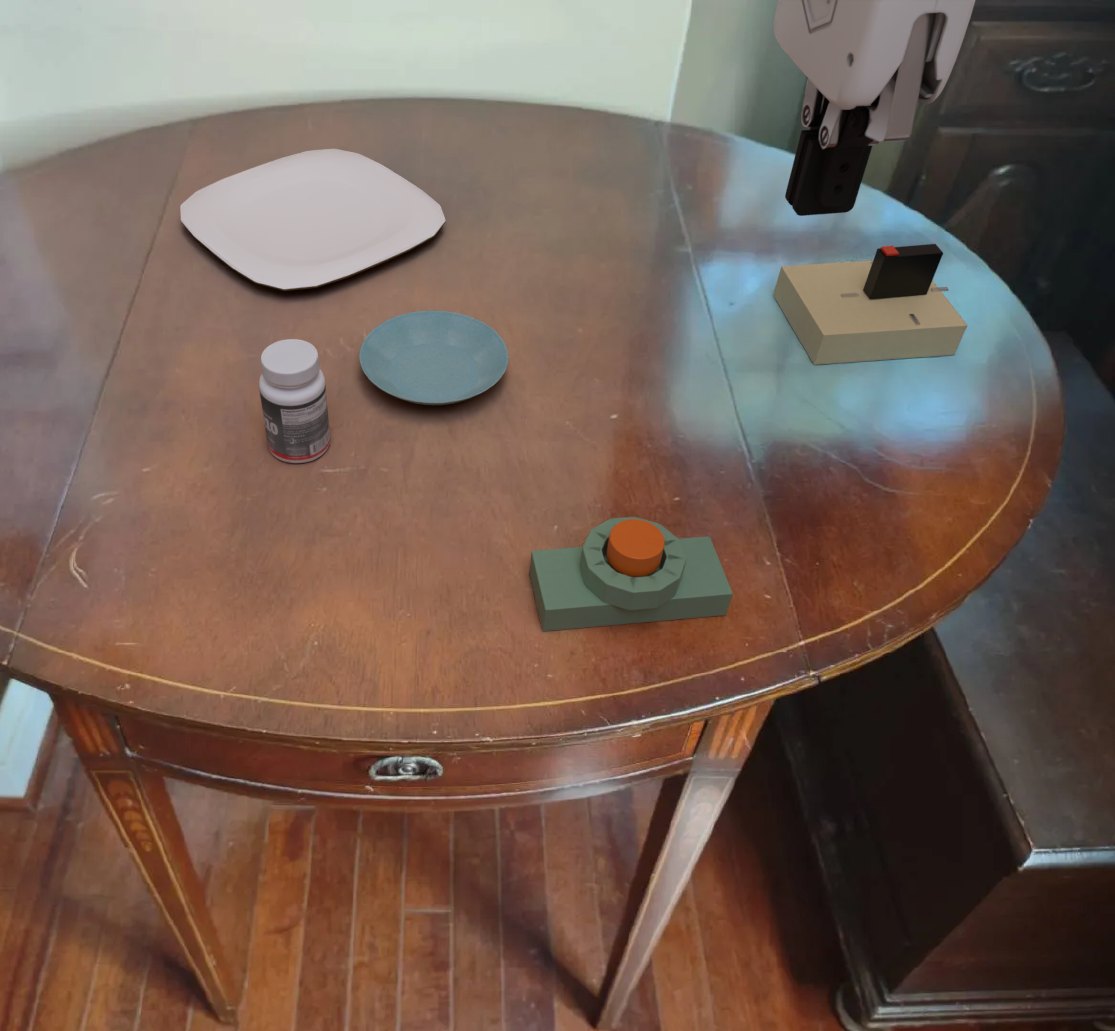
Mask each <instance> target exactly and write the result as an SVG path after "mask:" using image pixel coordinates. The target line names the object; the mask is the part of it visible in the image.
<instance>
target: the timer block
mask: <svg viewBox="0 0 1115 1031" xmlns="http://www.w3.org/2000/svg"><path fill="white" fill-rule="evenodd" d="M629 519H638V520H643V521H647V522H649V523H651V524H653V525H655V526H656V527H657V528H658V529H659V530H660V531H661V532H662V534H663V536H664V540H665V545H664V549H663V554H662V558H661V562H660V565H659V567H658V568H657V569H656V570H655V571H654V572H653V573H651V574H649V575H647V576H643V577H631V576H627V575H624V574H622V573H619V572H618V571H616V570H615V569H614V568H613V567H612V566H611V565H610V563H609V562H608V559H607V554H606V553H607V547H608V541H609V536H610V532H611V530H612V528H613V527H614V526H615V525H616V524H618V523H619V522H621V521H624V520H629ZM712 540H713V539H712V538H711V536H710V535H708V536H707V535H706V536H696V537H695V536H693V537H683V538H682V537H681V538H678V537H677V536H676V535H674V534H673V533H672V532H671V531H669V529H667V528H666V527H665V526H663V525H662V524H661V523H659V522H655V521H653V520H649V519H646V518H641V517H638V516H625V517H614V518H613V517H612V518H608V519H607V520H605V521H603V522H602V523H600V524H598V525H596V526H594V527H593V528H591V529H590V530H589V531H588V534H587V536H586V538H585V541H584V543H583V545H582V546H574V547H573V546H572V547H562V548H561V547H560V548H549V549H537V550H531V551H530V553H531V554H530V561H529V569H528V570H529V572H528V573H529V574H528V575H529V579H530V583H531V586H532V591H533V595H534V600H535V604H536V608H537V612H538V617H539V621H540V625H541V626H540V627H541V629H542V630H541V631H542V632H549V631H550V632H551V631H561V630H563V631H564V630H575V629H584V628H585V629H586V628H597V627H607V626H608V627H610V626H621V625H631V624H642V623H643V624H644V623H653V622H665V621H666V622H667V621H674V620H675V621H676V620H677V621H678V620H687V619H689V620H690V619H698V618H699V619H700V618H710V617H721V616H727V613H728V610H729V607H730V604H731V601H732V598H733V595H734V593H733V591H732V588H731V584H730V583H729V580H728V578H727V575H726V573H725V571H724V568H723V565H722V563H721V560H720V558H719V556H718V553H717V550H716V549H715V545H714V542H713V541H712Z"/></svg>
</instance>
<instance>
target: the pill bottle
mask: <svg viewBox="0 0 1115 1031" xmlns="http://www.w3.org/2000/svg"><path fill="white" fill-rule="evenodd" d="M260 355H261V356H260V364H261V365H260V366H261V374H260V378H259V381H258V382H259V383H258V390H259V397H260V398H259V399H260V402H261V403H260V404H261V410H262V411H261V412H262V416H263V418H262V419H263V424H264V429H265V438H266V444H267V447H268V450H269V452H270V453H271V455H272V456H273V457H275V458H276V459H277V460H279V461H282V462H285V463H289V464H303V463H304V464H305V463H309V462H312V461H315V460H317V459H318V458H320V457H321V456H323V455H324V454H325V453H326V452H327V450H328V449H329V447H330V444H331V432H330V422H329V412H328V398H327V386H326V385H327V384H326V378H325V374H324V373H323V371H322V369H321V364H320V358H319V353H318V350H317V348H316V347H315V346H314V345H313V344H312V343H311V342H309V341H307V340H303V339H297V338H286V339H281V340H277V341H275V342H273V343H271V344H269V345H268V346H267V347H265V348H264V349H263V351H262V353H261V354H260Z"/></svg>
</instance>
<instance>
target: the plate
mask: <svg viewBox="0 0 1115 1031" xmlns="http://www.w3.org/2000/svg"><path fill="white" fill-rule="evenodd" d="M179 206H180V207H179V208H180V209H179V210H180V222H181V224H182V225H183V227H185V229H186V230H187V231H188V232H189V234H191V236H192V237H193V238H194V239H195V240H196V241H197V242H199V243H200V244H201V245H202V246H204V248H205V249H207V250H208V251H209V252H210V253H212V254H213V255H214V256H215V257H216V258H218V259H219V261H221V262H222V263H224V265H226V266H228V267H229V268H230V269H231V270H232V271H234V272H236V273H238V275H241V276H242V277H244V278H246V279H247V280H249V281H251V282H252V283H254V284H255V285H259V286H263V287H268V288H272V289H274V290H275V289H276V290H279V291H283V292H286V291H287V292H288V291H296V290H297V291H298V290H307V289H317V288H320V287H324V286H326V285H329V284H332V283H336V282H338V281H342V280H345V279H348V278H351V277H353V276H355V275H358V274H360V273H362V272H365V271H367V270H369V269H372V268H374V267H377V266H379V265H381V264H384V263H385V262H388V261H390V260H392V259H395V258H397V257H399V256H401V255H403V254H406V253H408V252H410V251H411V250H414V249H415V248H417V247H419V246H421V245H423V244H425V243H426V242H428V241H429V240H431V239H433V238H434V237H436V235H437V234H438V233H439V232H440V230H441V229H442V228H443V226H444V225H445V224H446V221H447V220H446V217H445V214H444V212H443V208H442V206H441V205H440V204H439V203H438V202H437V201H436V200H435V199H433V198H432V197H431V196H430V195H429V194H427V193H426V192H425V191H424V190H423V189H421V188H419V187H418V186H416V185H415V184H413V183H412V182H410V181H409V180H407V179H406V178H404V177H403V176H401V175H400V174H398V173H396V172H395V171H393V170H392V169H389V168H388V167H386V166H384V165H383V164H382V163H379V162H377V161H375V160H373V159H371V158H370V157H367V156H365V155H363V154H360V153H357V152H353V151H348V150H343V149H338V148H326V149H325V148H324V149H314V150H305V151H302V152H298V153H295V154H291V155H287V156H284V157H279V158H277V159H274V160H271V161H269V162H268V161H267V162H265V163H263V164H259V165H257V166H254V167H252V168H248V169H246V170H243V171H241V172H237V173H235V174H232V175H229V176H227V177H224V178H222V179H219V180H217V181H215V182H213V183H211V184H209V185H207V186H204V187H202V188H200V189H198V190H196V191H195V192H194V193H192V194H191V195H190V196H189V197H188V198H186V200H184V201H183V203H181V204H180V205H179Z"/></svg>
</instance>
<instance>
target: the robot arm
mask: <svg viewBox="0 0 1115 1031" xmlns="http://www.w3.org/2000/svg"><path fill="white" fill-rule="evenodd" d="M975 3H976V0H777V4H776V9H775V13H774V17H773V23H772V24H773V25H772V28H773V34H774V38H775V40H776V42H777V43H778V46H779V47H780V48H781V49H782V50H783V52H784V53H785V54H786V56H788V58H789V59H790V60H791V61H792V62H793V63H794V64H795V65H796V66H797V68H798V69H799V70H800V72H802V73H803V74H804V76H806V85H805V89H804V95H803V100H802V101H803V102H802V105H801V106H802V108H801V114H800V121H801V125H802V126H803V128H805V129H802V130H800V135H799V139H798V143H797V148H796V151H795V154H794V160H793V162H792V167H791V171H790V174H789V179H788V182H787V186H786V190H785V194H784V198H785V200H786V202H787V203H788V205H789V206H791V208H792V210H793V211H794V212H795V214H796V215H797V216H799V217H803V216H804V217H805V216H817V215H819V216H820V215H831V214H844V213H849V212H850V211H851V210H853V208H854V207H855V205H856V201H857V198H858V195H859V191H860V188H861V185H862V181H863V178H864V175H865V172H866V168H867V166H868V161H869V159H870V156H871V152H872V149H873V146H877V145H879V144H880V143H896V142H897V143H898V142H907V141H908V140H909V139H910V137H911V135H912V132H913V127H914V123H915V116H916V111H917V107H918V104H920V105H929V104H931V103H933V102H934V101H935V100H936V99H938V97H939V96H940V95H941V93H942V92H943V90H944V88H945V86H946V84H947V82H948V80H949V78H950V76H951V73H952V71H953V68H954V66H955V63H956V62H957V59H958V56H959V53H960V50H961V47H962V45H963V41H964V39H965V36H966V33H967V30H968V26H969V23H970V21H971V18H972V17H971V16H972V14H973V10H974V6H975ZM806 128H807V129H806ZM808 128H809V129H808Z"/></svg>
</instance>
